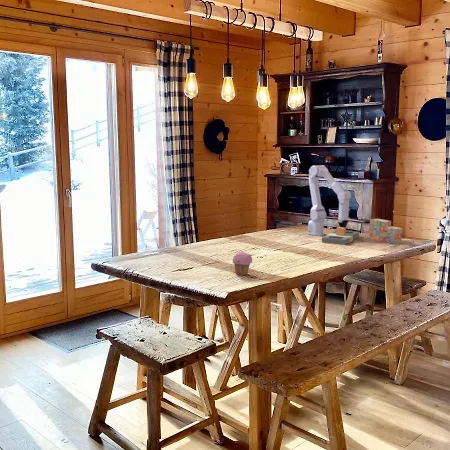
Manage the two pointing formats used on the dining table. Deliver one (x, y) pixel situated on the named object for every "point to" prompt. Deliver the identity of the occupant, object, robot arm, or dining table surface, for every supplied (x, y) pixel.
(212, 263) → the dining table surface
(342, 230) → the block
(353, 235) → the trap deck
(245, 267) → the cupcake
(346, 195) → the robot arm
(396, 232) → the stack of blocks
